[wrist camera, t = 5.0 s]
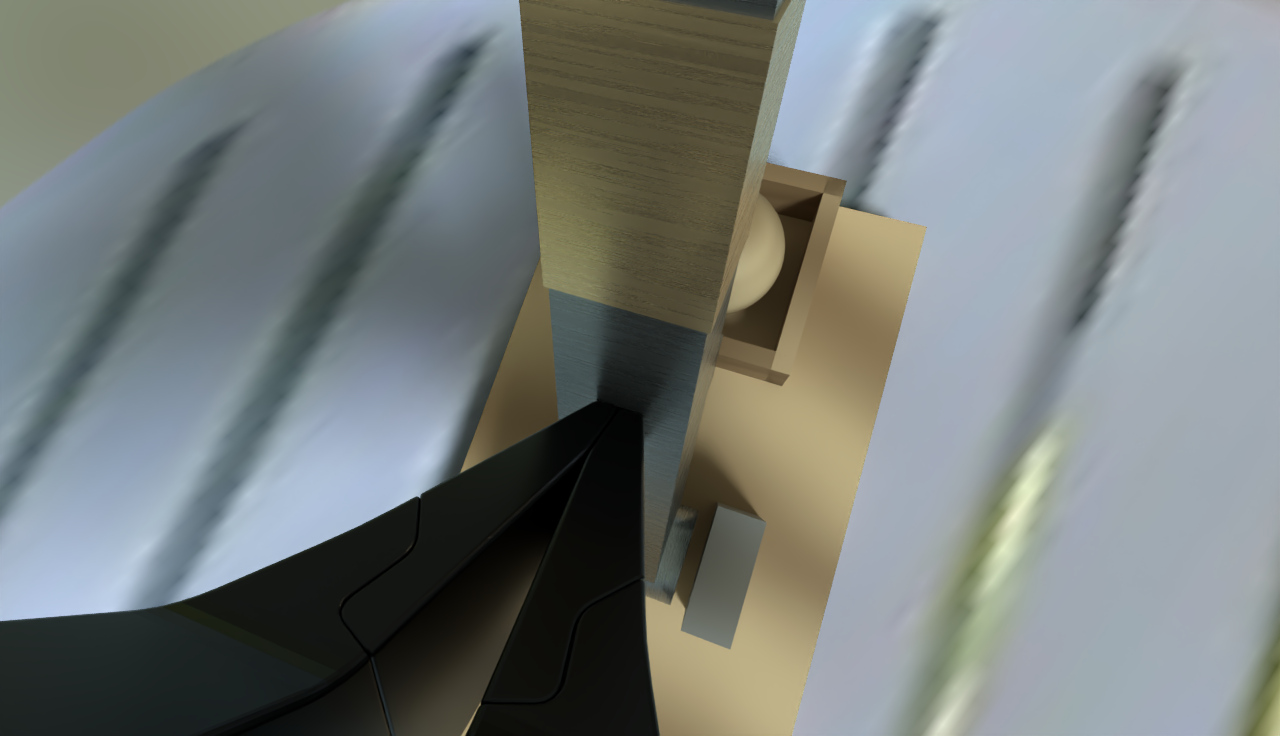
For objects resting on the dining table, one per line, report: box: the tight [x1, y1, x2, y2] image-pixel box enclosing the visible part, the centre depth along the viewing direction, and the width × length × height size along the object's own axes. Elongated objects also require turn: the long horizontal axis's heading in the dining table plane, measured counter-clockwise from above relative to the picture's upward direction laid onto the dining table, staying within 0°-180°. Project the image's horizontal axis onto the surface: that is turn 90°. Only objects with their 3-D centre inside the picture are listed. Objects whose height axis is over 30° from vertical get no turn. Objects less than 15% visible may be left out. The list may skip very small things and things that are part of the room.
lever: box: [519, 0, 806, 605], centre depth 11 cm, size 5×3×14 cm
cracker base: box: [460, 163, 927, 736], centre depth 16 cm, size 20×11×4 cm, turn 162°
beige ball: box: [726, 193, 785, 314], centre depth 16 cm, size 4×4×4 cm
